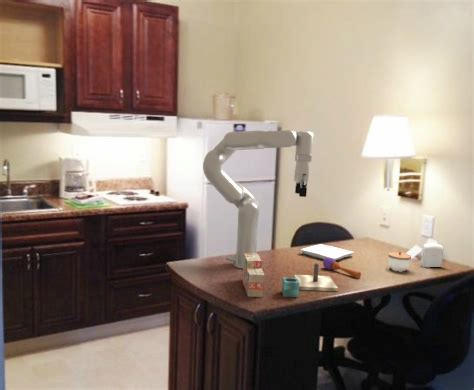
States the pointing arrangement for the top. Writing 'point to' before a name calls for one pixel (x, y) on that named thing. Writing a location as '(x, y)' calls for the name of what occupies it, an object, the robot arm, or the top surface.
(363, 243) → the top surface
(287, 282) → the open box
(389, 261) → the lidded jar
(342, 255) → the salad plate
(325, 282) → the cream peg stand
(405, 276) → the top surface
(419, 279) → the top surface
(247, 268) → the stack of blocks
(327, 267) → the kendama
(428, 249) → the photo printer
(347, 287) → the top surface
